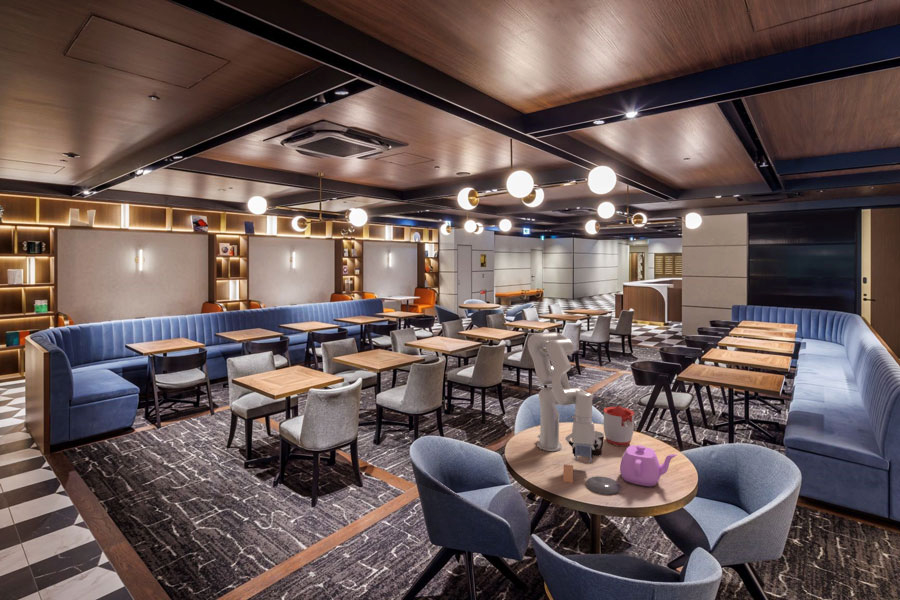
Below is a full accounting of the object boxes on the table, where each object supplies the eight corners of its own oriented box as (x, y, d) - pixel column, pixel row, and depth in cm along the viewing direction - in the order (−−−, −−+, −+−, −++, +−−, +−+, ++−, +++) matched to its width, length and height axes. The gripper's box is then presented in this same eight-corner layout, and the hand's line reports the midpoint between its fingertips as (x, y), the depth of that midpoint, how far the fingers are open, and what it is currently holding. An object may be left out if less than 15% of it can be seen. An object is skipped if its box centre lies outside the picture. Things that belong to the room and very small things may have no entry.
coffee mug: (603, 450, 229) (604, 431, 229) (603, 457, 221) (604, 438, 220) (580, 447, 233) (580, 429, 232) (579, 454, 225) (579, 435, 224)
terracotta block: (563, 477, 202) (563, 464, 201) (572, 478, 201) (573, 465, 200) (563, 481, 198) (563, 468, 197) (572, 482, 197) (572, 469, 196)
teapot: (615, 487, 193) (616, 453, 191) (622, 467, 211) (623, 436, 210) (675, 500, 182) (676, 464, 181) (676, 478, 200) (678, 445, 199)
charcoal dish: (579, 482, 197) (579, 480, 197) (604, 476, 202) (604, 474, 202) (602, 497, 184) (602, 495, 184) (627, 490, 190) (628, 488, 190)
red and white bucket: (615, 450, 230) (616, 412, 228) (597, 437, 246) (597, 402, 245) (642, 447, 233) (643, 410, 231) (622, 435, 250) (623, 400, 248)
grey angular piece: (575, 454, 213) (575, 438, 213) (590, 456, 211) (591, 439, 211) (575, 461, 207) (575, 444, 206) (591, 462, 205) (591, 445, 204)
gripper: (563, 420, 207) (563, 457, 208) (603, 423, 202) (603, 461, 203) (564, 414, 214) (564, 451, 215) (602, 417, 209) (602, 455, 210)
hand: (583, 456), depth 209 cm, fingers closed on grey angular piece, 7 cm apart
